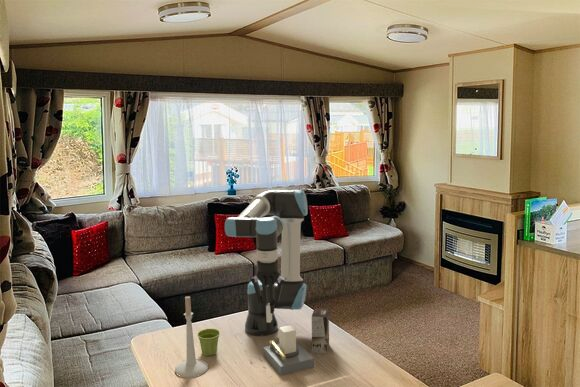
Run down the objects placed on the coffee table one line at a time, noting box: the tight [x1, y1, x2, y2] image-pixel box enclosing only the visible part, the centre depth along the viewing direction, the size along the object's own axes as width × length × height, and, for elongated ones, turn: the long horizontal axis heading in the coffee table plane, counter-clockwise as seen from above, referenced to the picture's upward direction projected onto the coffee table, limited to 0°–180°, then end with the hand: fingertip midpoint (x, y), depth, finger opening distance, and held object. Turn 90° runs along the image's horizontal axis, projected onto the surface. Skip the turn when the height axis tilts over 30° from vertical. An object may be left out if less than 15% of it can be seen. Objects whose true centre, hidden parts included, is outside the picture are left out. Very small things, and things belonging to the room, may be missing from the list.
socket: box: [262, 341, 315, 376], centre depth 195 cm, size 18×14×5 cm
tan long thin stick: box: [268, 339, 286, 360], centre depth 193 cm, size 15×2×1 cm, turn 22°
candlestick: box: [174, 295, 209, 378], centre depth 189 cm, size 13×13×30 cm
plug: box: [277, 324, 298, 358], centre depth 194 cm, size 8×8×14 cm
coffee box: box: [311, 308, 330, 354], centre depth 205 cm, size 9×6×16 cm
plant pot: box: [196, 328, 221, 357], centre depth 204 cm, size 9×9×9 cm
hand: (269, 320), depth 183 cm, fingers closed
